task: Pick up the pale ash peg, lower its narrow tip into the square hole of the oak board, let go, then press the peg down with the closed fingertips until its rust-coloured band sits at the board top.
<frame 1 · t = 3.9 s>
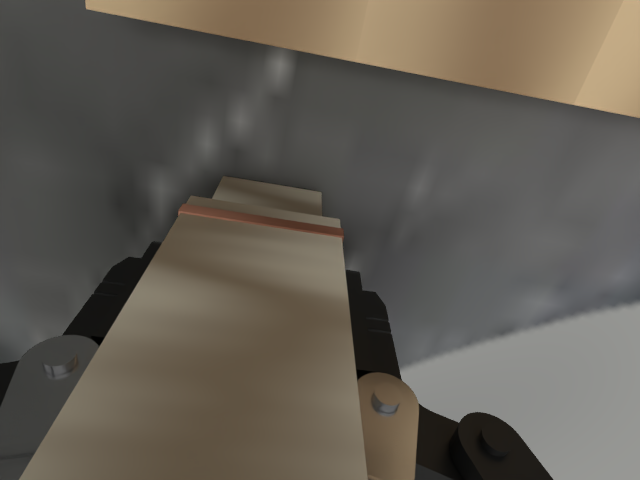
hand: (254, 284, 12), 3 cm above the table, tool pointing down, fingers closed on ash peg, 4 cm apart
ash peg: (267, 226, 14), on the table, touching gripper
when the fingers open (4 cm above the table, at t = 9.4 s): ash peg stays where it is, resting in oak board.
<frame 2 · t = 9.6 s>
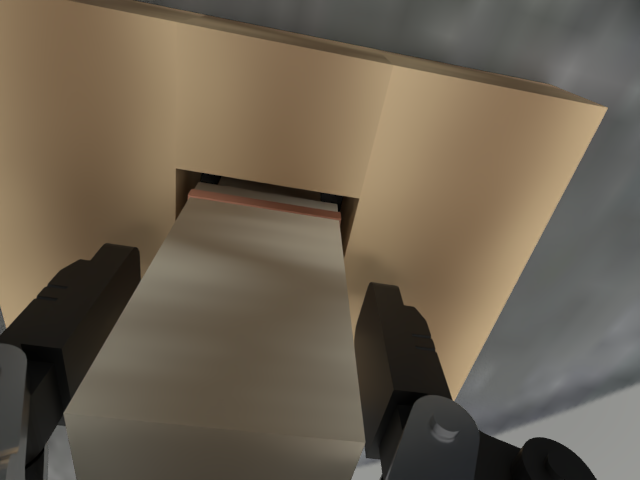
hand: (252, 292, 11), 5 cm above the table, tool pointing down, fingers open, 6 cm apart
oak board: (269, 213, 15), on the table
ash peg: (268, 213, 15), resting in oak board
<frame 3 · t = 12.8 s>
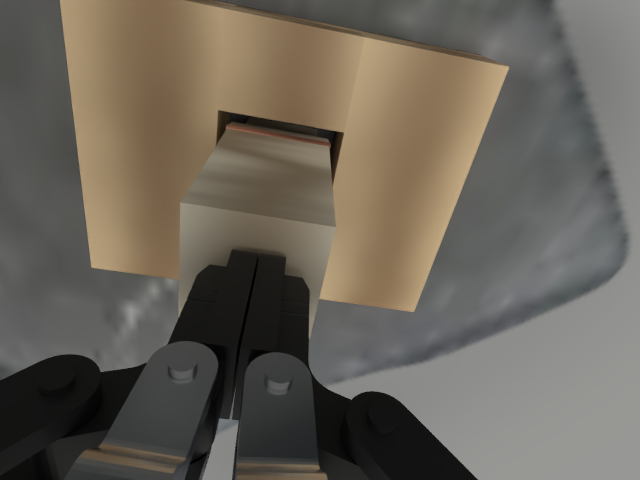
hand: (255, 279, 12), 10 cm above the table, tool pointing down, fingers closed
oak board: (279, 155, 20), on the table
ash peg: (278, 155, 20), resting in oak board, touching gripper
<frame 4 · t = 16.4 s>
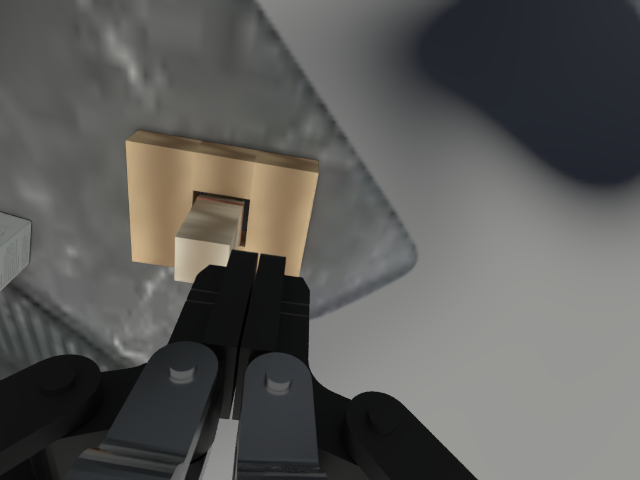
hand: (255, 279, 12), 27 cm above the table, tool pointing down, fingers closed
oak board: (226, 205, 40), on the table
ash peg: (225, 205, 40), resting in oak board
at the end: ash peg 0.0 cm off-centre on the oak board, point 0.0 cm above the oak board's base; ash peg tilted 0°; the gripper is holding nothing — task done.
